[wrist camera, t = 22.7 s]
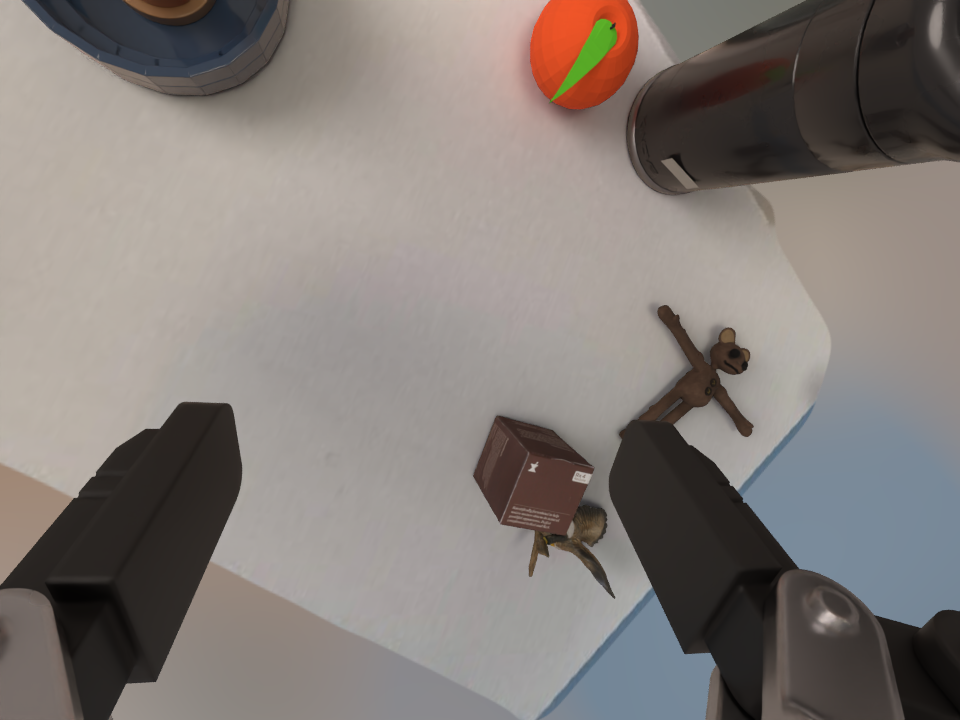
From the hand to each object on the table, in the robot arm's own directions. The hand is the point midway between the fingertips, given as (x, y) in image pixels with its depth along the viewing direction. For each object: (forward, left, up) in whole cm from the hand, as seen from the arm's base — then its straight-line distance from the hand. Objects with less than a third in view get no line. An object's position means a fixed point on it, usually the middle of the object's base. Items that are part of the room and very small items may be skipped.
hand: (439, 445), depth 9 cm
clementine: (-19, -9, -26) cm, 33 cm away
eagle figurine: (-8, +27, -26) cm, 39 cm away
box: (-6, +18, -26) cm, 32 cm away
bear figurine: (-23, +20, -26) cm, 40 cm away
